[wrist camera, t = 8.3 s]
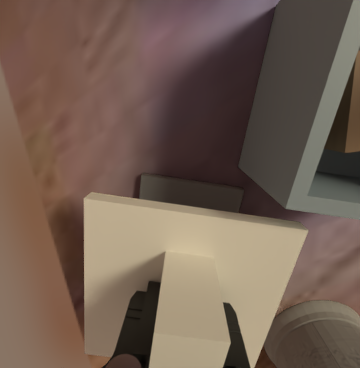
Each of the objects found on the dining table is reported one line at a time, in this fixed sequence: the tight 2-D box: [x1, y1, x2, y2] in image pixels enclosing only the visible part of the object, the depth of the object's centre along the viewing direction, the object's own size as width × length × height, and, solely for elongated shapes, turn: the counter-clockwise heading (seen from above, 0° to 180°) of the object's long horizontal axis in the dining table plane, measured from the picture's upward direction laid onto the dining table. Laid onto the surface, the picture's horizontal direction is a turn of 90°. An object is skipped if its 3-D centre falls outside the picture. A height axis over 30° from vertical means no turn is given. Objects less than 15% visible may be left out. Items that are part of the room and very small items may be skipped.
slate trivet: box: [139, 173, 244, 213], centre depth 16 cm, size 10×7×1 cm
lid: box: [84, 192, 308, 368], centre depth 10 cm, size 10×10×5 cm
